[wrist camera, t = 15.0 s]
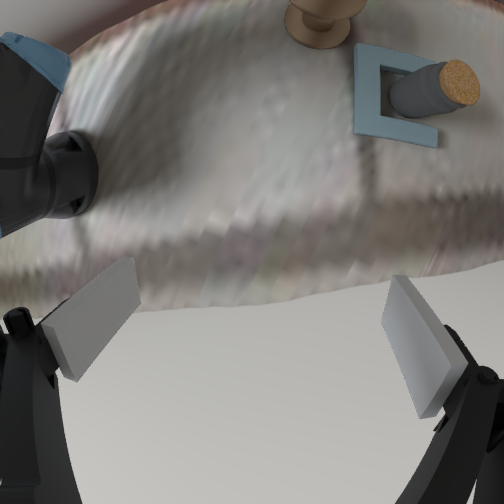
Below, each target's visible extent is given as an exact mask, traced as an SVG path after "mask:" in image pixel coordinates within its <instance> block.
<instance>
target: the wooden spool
mask: <svg viewBox="0 0 504 504" xmlns="http://www.w3.org/2000/svg"><path fill="white" fill-rule="evenodd" d="M289 1H290V2H291V4H290V5H289V6H288V8H287V10H286V12H285V26H286V29H287V31H288V33H289V34H290V35H291V37H292V38H293V39H294V40H296V41H297V42H299V43H300V44H302V45H304V46H307V47H309V48H313V49H330V48H334V47H336V46H338V45H340V44H341V43H342V42H344V40H345V39H346V37H347V36H348V34H349V32H350V26H351V24H350V19H349V18H351V17H354V16H356V15H357V14H358V13H360V12H361V11H362V9H363V8H364V6H365V5H366V3H367V0H289Z"/></svg>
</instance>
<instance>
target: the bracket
mask: <svg viewBox="0 0 504 504" xmlns="http://www.w3.org/2000/svg"><path fill="white" fill-rule="evenodd" d="M353 49H354V134H359V135H366V136H372V137H379V138H385V139H391V140H396V141H402V142H407V143H412V144H417V145H421V146H426V147H432V148H437V143H438V128H434V127H430V126H427V125H422V124H418V123H414V122H410V121H405V120H400V119H395V118H390V117H385V116H380V70H384V71H389V72H393V73H398V74H402V75H408V74H410V73H412V72H414V71H416V70H418V69H420V68H422V67H424V66H427V65H429V64H436V62H433V61H430V60H427V59H424V58H421V57H418V56H414V55H411V54H407V53H403V52H400V51H396V50H392V49H387V48H383V47H379V46H374V45H369V44H364V43H358V42H357V43H356V45H355V46H354V48H353Z"/></svg>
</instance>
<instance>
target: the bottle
mask: <svg viewBox="0 0 504 504" xmlns="http://www.w3.org/2000/svg"><path fill="white" fill-rule="evenodd" d="M388 96H389V101H390V104H391V106H392V108H393V109H394V110H395V111H396V112H397V113H398V114H399V115H401V116H403V117H405V118H418V117H424V116H431V115H438V114H445V113H450V112H453V111H455V110H456V109H457V108H463V107H465V106H467V105H472V104H474V103H476V102H477V100H478V99H479V96H480V86H479V82H478V79H477V77H476V75H475V73H474V72H473V70H472V69H471V68H470V67H469V66H468V65H467V64H465V63H464V62H462V61H459V60H451V61H449V62H441V63H439V64H429V65H427V66H424V67H422V68H420V69H418V70H416V71H414V72H412V73H410V74H408V75H406V76H405V77H403V78H401V79H399V80H397V81H396V82H394V83H393V84H392V85H391V87H390V89H389V93H388Z"/></svg>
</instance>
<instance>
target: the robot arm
mask: <svg viewBox="0 0 504 504" xmlns="http://www.w3.org/2000/svg"><path fill="white" fill-rule="evenodd" d="M71 67H72V62H71V59H70V57H69V56H68V55H67V54H66V53H64V52H62V51H60V50H58V49H56V48H54V47H52V46H50V45H47V44H45V43H43V42H40V41H37V40H35V39H32V38H29V37H24V36H22V35H18V34H16V33H13V32H5V33H4V34H3V35H2V36H1V37H0V239H1V238H3V237H5V236H6V235H8V234H10V233H12V232H14V231H16V230H18V229H21V228H23V227H25V226H27V225H29V224H31V223H33V222H35V221H37V220H40V219H42V218H55V219H67V218H71V217H73V216H76V215H78V214H80V213H82V212H83V211H84V210H85V209H86V208H87V207H88V206H89V205H90V203H91V201H92V199H93V197H94V195H95V192H96V188H97V182H98V167H97V161H96V157H95V154H94V151H93V149H92V147H91V146H90V144H89V143H88V141H87V140H86V139H85V138H84V137H83V136H81V135H79V134H77V133H74V132H62V133H57V134H54V135H52V136H50V137H48V138H47V139H46V136H47V133H48V130H49V127H50V124H51V121H52V118H53V115H54V112H55V110H56V107H57V104H58V102H59V99H60V97H61V94H63V92H64V86H65V83H66V80H67V78H68V75H69V73H70V70H71ZM140 304H141V300H140V295H139V289H138V283H137V276H136V270H135V263H134V258H133V257H121V258H119V259H118V260H117V261H115V262H114V263H113V264H112V265H110V266H109V267H108V268H106V269H105V270H104V271H103V272H101V273H100V274H99V275H98V276H96V277H95V278H94V279H93V280H91V281H90V282H89V283H88V284H86V285H85V286H84V287H83V288H81V289H80V290H79V291H78V292H77V293H75V294H74V295H73V296H72V297H70V298H68V299H66V300H64V301H63V302H62V303H61V304H60V305H58V307H56V308H55V309H54V310H53V311H52V312H50V313H49V314H48V315H47V316H46V317H45V318H43V319H42V320H41V321H40V322H39V323H38V324H37V325H36V326H35V325H34V323H33V320H32V317H31V315H30V312H29V310H28V309H27V308H25V307H18V308H15V309H12V310H10V311H9V312H7V313H6V314H5V315H4V317H3V320H4V323H5V325H6V328H7V330H8V332H9V334H4V332H3V330H2V327H1V325H0V481H1V485H0V504H82V501H81V498H80V494H79V491H78V488H77V484H76V481H75V478H74V474H73V470H72V466H71V462H70V458H69V453H68V448H67V443H66V438H65V433H64V427H63V420H62V414H61V406H60V398H59V387H58V378H57V375H56V373H55V371H56V370H57V369H58V368H59V367H60V370H61V372H62V374H63V376H64V377H65V378H67V379H70V380H72V381H75V382H78V381H79V380H80V378H81V377H82V376H83V374H84V373H85V372H86V370H87V369H88V368H89V366H90V365H91V364H92V363H93V361H94V360H95V359H96V358H97V356H98V355H99V354H100V352H101V351H102V350H103V349H104V347H105V346H106V345H107V344H108V342H109V341H110V340H111V339H112V337H113V336H114V335H115V334H116V333H117V331H118V330H119V329H120V327H121V326H122V325H123V324H124V323H125V322H126V320H127V319H128V318H129V317H130V316H131V314H132V313H133V312H134V311H135V310H136V308H137V307H138V306H139V305H140ZM381 324H382V326H383V328H384V330H385V333H386V335H387V337H388V339H389V342H390V344H391V346H392V349H393V351H394V354H395V356H396V358H397V361H398V363H399V366H400V368H401V371H402V373H403V376H404V379H405V381H406V383H407V386H408V389H409V392H410V394H411V397H412V400H413V403H414V405H415V408H416V411H417V414H418V417H419V419H423V418H429V417H435V416H436V415H437V414H438V412H439V410H440V409H441V408H442V406H443V408H444V410H445V413H446V414H445V415H444V416H443V418H442V419H441V420H440V422H439V423H438V425H437V426H436V427H435V429H434V430H433V431H436V433H435V435H434V437H433V439H432V441H431V443H430V445H429V447H428V449H427V451H426V453H425V455H424V457H423V459H422V460H421V462H420V464H419V466H418V468H417V469H416V472H415V473H414V475H413V476H412V478H411V480H410V481H409V483H408V484H407V486H406V488H405V489H404V491H403V493H402V494H401V495H400V497H399V498H398V500H397V501H396V503H395V504H466V503H467V501H468V499H469V496H470V494H471V492H472V489H473V486H474V484H475V481H476V479H477V481H476V488H475V493H474V499H473V504H504V379H499V377H498V375H497V374H496V372H494V370H492V369H491V368H489V367H486V366H478V364H477V363H476V361H475V359H474V358H473V356H472V355H471V353H470V352H469V351H468V349H467V347H466V346H465V345H464V343H463V341H462V340H460V337H459V336H458V334H457V333H456V332H455V331H454V330H453V329H451V327H449V326H448V325H443V324H442V323H441V321H440V320H439V319H438V317H437V316H436V314H435V313H434V311H433V310H432V309H431V308H430V306H429V305H428V303H427V302H426V301H425V299H424V298H423V297H422V295H421V294H420V293H419V292H418V290H417V289H416V288H415V286H414V285H413V284H412V283H411V281H410V280H409V279H408V277H407V276H404V275H393V276H392V281H391V285H390V289H389V293H388V297H387V301H386V304H385V308H384V312H383V315H382V319H381Z"/></svg>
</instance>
